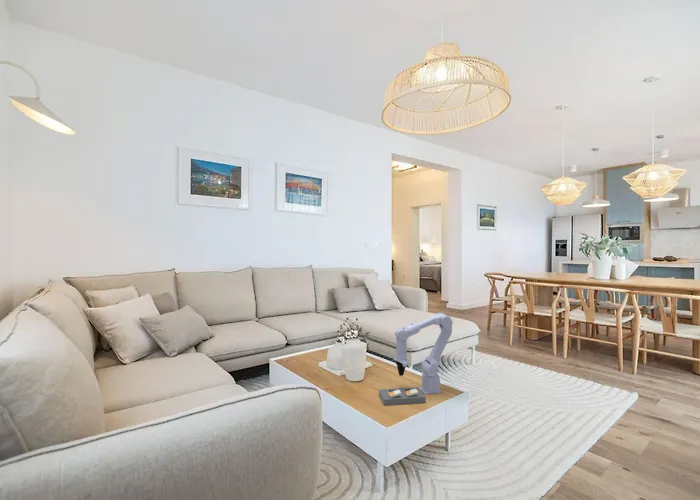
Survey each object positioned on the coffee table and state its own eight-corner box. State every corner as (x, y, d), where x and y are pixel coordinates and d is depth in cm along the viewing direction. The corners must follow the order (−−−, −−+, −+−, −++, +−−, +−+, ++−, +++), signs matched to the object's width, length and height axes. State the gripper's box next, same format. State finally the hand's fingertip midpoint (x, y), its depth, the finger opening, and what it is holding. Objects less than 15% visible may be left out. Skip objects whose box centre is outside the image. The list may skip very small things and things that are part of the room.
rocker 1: (399, 391, 178) (399, 389, 178) (401, 394, 175) (401, 392, 175) (388, 394, 177) (388, 392, 177) (390, 397, 174) (390, 395, 174)
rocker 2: (416, 390, 180) (415, 388, 180) (418, 393, 176) (417, 391, 176) (405, 393, 179) (404, 391, 179) (407, 396, 175) (407, 394, 175)
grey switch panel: (417, 392, 187) (417, 386, 187) (425, 402, 175) (425, 396, 175) (378, 394, 184) (378, 389, 184) (384, 405, 172) (384, 399, 172)
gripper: (390, 346, 194) (390, 370, 194) (398, 355, 180) (397, 380, 180) (402, 346, 195) (402, 369, 195) (410, 354, 181) (410, 380, 181)
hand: (401, 375), depth 188 cm, fingers closed
